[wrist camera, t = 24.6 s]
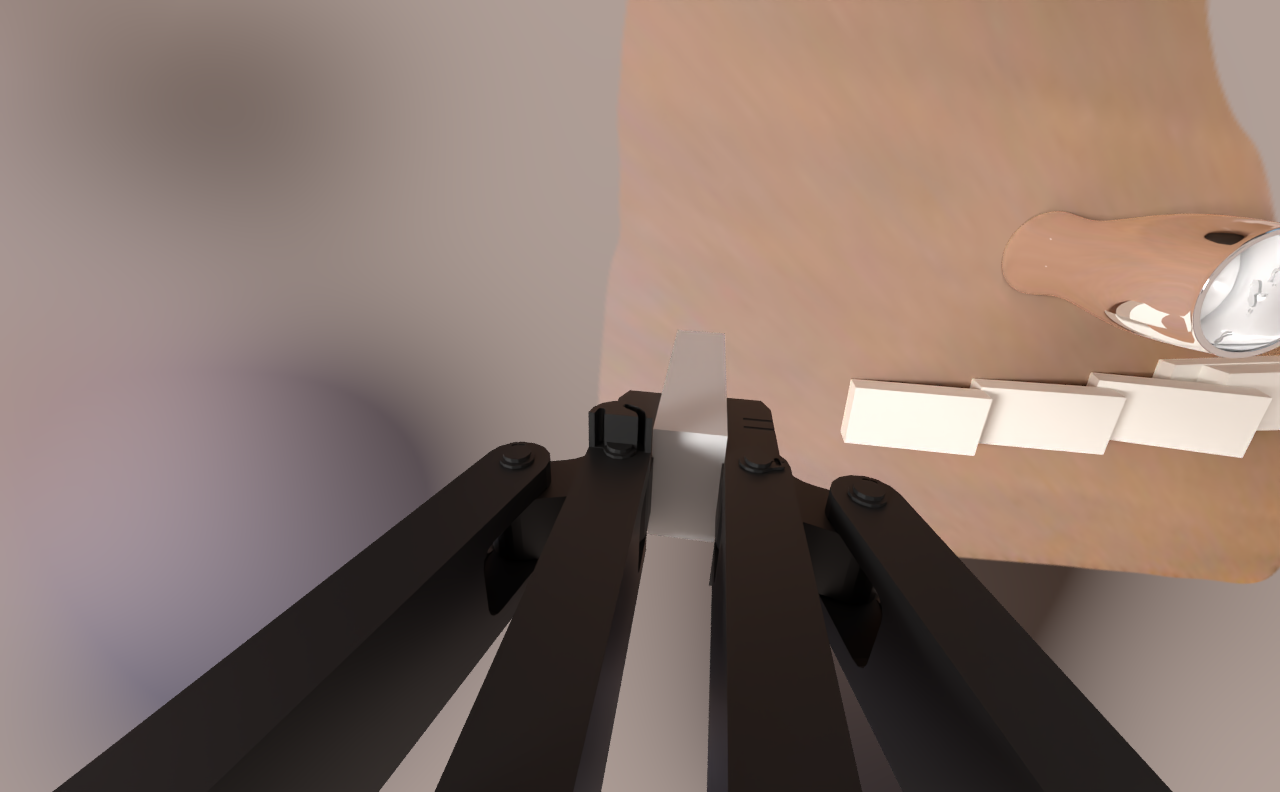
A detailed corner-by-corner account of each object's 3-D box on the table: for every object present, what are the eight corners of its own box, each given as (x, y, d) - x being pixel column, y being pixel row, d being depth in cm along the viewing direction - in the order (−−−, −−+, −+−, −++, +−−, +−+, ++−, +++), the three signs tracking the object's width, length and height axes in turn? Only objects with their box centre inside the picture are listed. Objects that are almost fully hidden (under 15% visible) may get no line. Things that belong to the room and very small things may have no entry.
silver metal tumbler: (1095, 194, 37) (1369, 203, 23) (1085, 287, 40) (1324, 346, 26) (996, 217, 37) (1204, 240, 24) (992, 307, 40) (1178, 375, 26)
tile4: (1203, 432, 41) (1329, 428, 41) (1229, 373, 39) (1361, 369, 39) (1179, 421, 43) (1299, 417, 43) (1202, 365, 41) (1328, 361, 41)
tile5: (1153, 421, 43) (1273, 417, 43) (1175, 365, 41) (1301, 360, 41) (1131, 411, 44) (1246, 407, 44) (1152, 357, 42) (1272, 352, 42)
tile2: (966, 442, 43) (1103, 454, 41) (981, 387, 41) (1126, 397, 39) (957, 431, 45) (1088, 442, 43) (972, 378, 43) (1110, 388, 41)
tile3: (1079, 435, 43) (1242, 457, 39) (1099, 380, 41) (1272, 398, 37) (1072, 425, 44) (1227, 446, 40) (1091, 372, 42) (1255, 388, 39)
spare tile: (844, 442, 43) (974, 455, 41) (855, 387, 41) (992, 399, 39) (840, 431, 44) (964, 444, 43) (851, 378, 42) (981, 389, 41)
